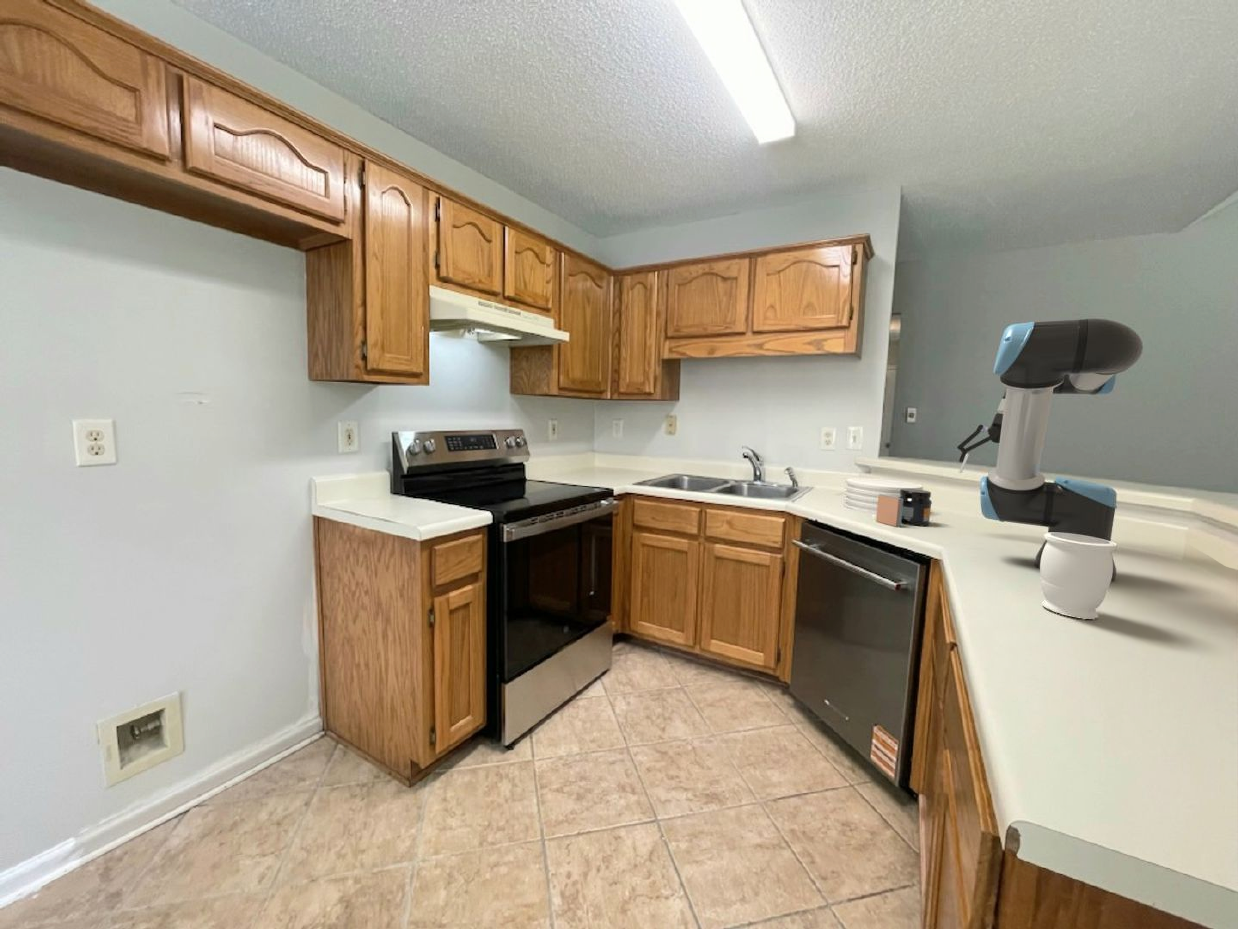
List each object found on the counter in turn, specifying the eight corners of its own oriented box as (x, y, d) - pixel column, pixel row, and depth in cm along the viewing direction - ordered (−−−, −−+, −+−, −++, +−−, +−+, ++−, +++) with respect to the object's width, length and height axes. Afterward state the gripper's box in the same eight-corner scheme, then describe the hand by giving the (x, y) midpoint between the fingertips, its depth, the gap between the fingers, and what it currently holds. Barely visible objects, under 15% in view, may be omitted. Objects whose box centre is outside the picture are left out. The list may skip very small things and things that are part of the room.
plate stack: (935, 518, 189) (939, 489, 188) (863, 515, 189) (865, 486, 188) (895, 504, 217) (898, 479, 216) (832, 502, 217) (834, 476, 216)
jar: (1113, 628, 90) (1125, 548, 88) (1040, 614, 95) (1050, 539, 94) (1096, 609, 99) (1106, 537, 97) (1030, 597, 104) (1039, 529, 103)
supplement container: (934, 524, 176) (938, 492, 175) (920, 528, 170) (924, 493, 169) (904, 519, 184) (907, 487, 183) (889, 521, 178) (893, 489, 177)
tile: (879, 521, 178) (882, 494, 177) (900, 527, 170) (903, 498, 169) (875, 521, 178) (878, 494, 177) (896, 527, 169) (898, 499, 168)
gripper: (1060, 426, 148) (1032, 491, 153) (964, 406, 162) (941, 467, 167) (1063, 425, 142) (1034, 493, 147) (964, 404, 156) (939, 467, 161)
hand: (984, 479), depth 157 cm, fingers open, 13 cm apart
